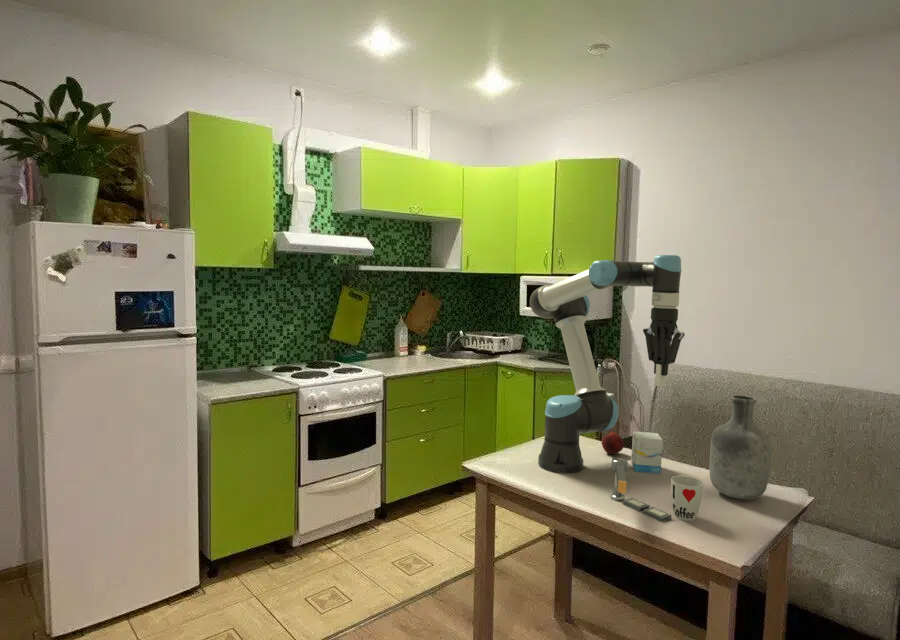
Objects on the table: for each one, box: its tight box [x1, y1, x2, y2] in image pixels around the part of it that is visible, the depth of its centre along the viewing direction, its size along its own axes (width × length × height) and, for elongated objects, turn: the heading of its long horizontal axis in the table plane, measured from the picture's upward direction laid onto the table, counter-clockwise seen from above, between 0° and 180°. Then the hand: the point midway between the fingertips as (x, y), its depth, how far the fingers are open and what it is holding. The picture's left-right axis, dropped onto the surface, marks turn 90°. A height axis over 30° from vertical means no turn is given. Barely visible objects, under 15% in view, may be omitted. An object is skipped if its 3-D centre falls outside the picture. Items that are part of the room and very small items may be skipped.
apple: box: [601, 431, 625, 456], centre depth 201 cm, size 7×8×8 cm
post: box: [610, 471, 626, 502], centre depth 160 cm, size 4×4×8 cm
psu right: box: [642, 506, 672, 522], centre depth 149 cm, size 6×4×1 cm, turn 32°
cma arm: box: [610, 457, 629, 494], centre depth 152 cm, size 20×4×3 cm, turn 165°
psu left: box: [622, 497, 651, 513], centre depth 155 cm, size 6×4×1 cm, turn 32°
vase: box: [709, 394, 772, 500], centre depth 164 cm, size 16×16×30 cm
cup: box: [670, 475, 705, 522], centre depth 148 cm, size 8×8×10 cm
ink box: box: [630, 431, 664, 474], centre depth 186 cm, size 8×8×12 cm
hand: (659, 385), depth 165 cm, fingers closed
